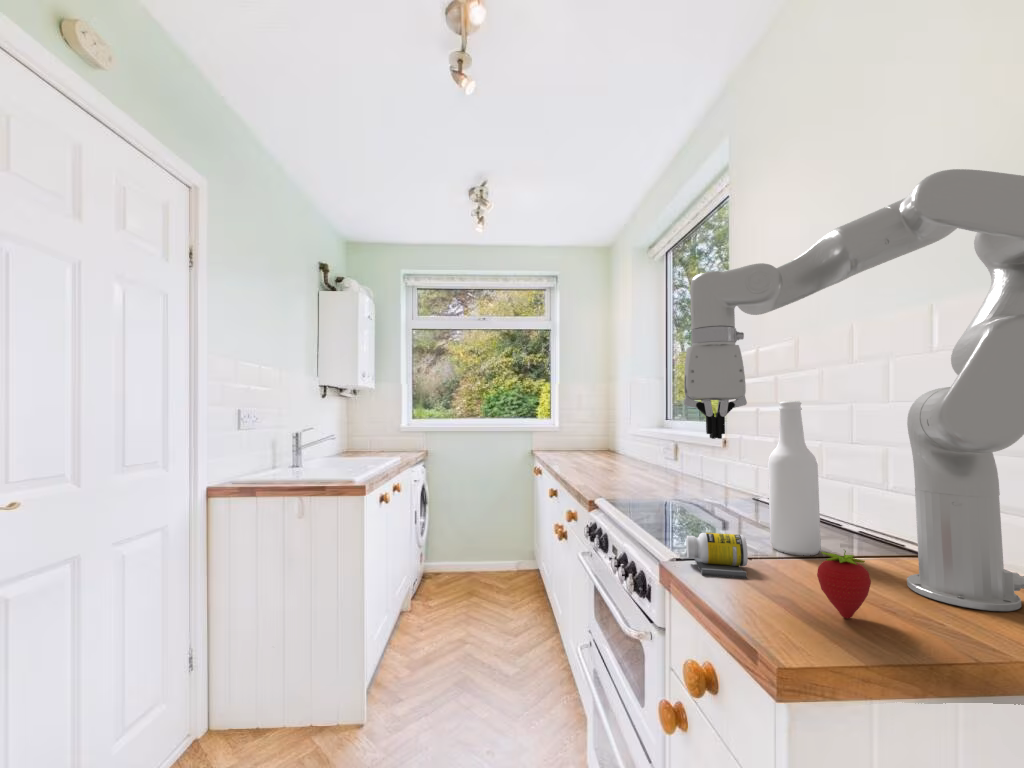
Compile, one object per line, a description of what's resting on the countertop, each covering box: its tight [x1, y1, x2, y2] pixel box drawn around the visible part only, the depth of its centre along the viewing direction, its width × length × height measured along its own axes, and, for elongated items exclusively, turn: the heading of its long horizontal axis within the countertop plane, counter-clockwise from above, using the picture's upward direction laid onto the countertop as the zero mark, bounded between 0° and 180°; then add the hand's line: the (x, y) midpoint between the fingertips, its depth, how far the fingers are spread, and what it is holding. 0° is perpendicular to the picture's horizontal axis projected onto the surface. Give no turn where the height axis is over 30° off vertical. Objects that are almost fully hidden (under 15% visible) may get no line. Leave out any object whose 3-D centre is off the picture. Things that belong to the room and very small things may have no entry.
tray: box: [694, 558, 748, 579], centre depth 87 cm, size 7×12×1 cm, turn 167°
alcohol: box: [767, 400, 822, 557], centre depth 97 cm, size 9×9×30 cm
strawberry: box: [816, 550, 872, 620], centre depth 65 cm, size 6×8×10 cm
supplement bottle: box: [685, 532, 749, 567], centre depth 87 cm, size 5×5×10 cm
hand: (715, 438), depth 88 cm, fingers closed
